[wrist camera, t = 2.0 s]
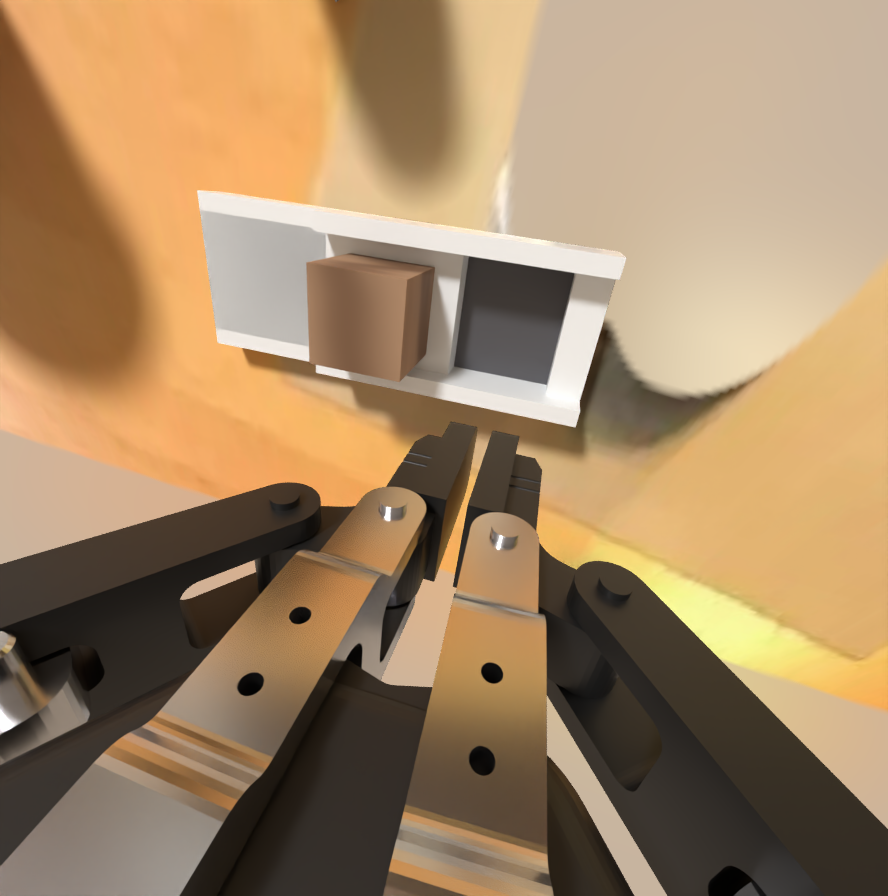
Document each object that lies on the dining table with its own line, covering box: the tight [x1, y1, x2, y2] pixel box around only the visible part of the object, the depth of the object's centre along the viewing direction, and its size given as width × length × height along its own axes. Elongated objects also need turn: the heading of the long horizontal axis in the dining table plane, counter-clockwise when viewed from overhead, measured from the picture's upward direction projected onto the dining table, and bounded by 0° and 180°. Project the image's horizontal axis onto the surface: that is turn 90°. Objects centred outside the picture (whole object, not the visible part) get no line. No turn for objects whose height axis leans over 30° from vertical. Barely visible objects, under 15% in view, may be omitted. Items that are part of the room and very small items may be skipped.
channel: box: [197, 190, 626, 427], centre depth 26 cm, size 24×9×4 cm, turn 83°
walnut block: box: [306, 253, 435, 382], centre depth 24 cm, size 5×5×5 cm
